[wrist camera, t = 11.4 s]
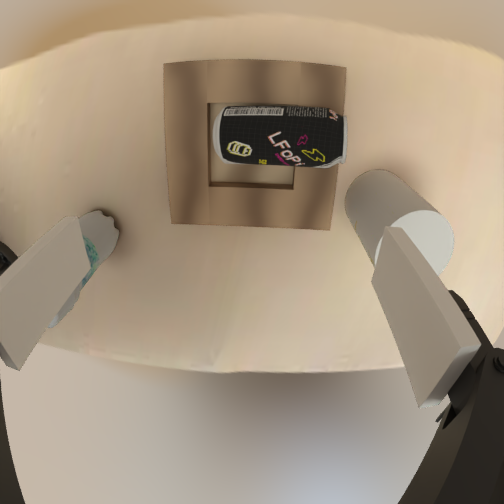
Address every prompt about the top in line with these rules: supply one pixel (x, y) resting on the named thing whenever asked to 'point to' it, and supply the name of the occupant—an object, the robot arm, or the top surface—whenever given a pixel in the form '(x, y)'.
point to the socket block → (244, 175)
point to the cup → (397, 217)
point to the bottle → (91, 252)
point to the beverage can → (280, 136)
